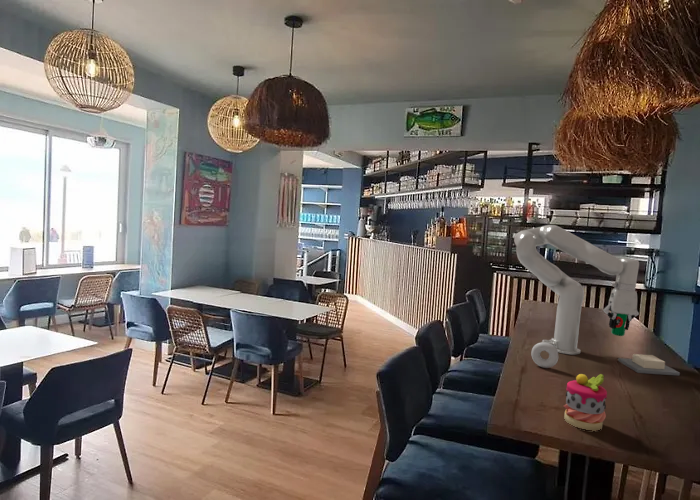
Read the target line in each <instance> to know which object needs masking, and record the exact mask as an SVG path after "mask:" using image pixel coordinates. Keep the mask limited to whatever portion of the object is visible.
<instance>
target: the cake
mask: <svg viewBox="0 0 700 500" xmlns="http://www.w3.org/2000/svg"><path fill="white" fill-rule="evenodd" d="M604 377H605V376H604V374H602V373H600V374H598V375H597V376H592V377H591V378H588V376H587V375H586V374H583V373H579V374H578V375H576V376H575V379H574V380H570V381H568V382H567V384H566V389H565V390H566V392H565V397H566V398H565V404H564V405H563V408H565V411H564V416H563V420H564V419H565V420H564V422H565V421H566V422H567V423H569V424H571V425H573V426H575V427H578V428H582V429H586V430H592V431H591V432H593V431H595V432H597V431H596V430H600V429H601V430H602V429H603V426H604V425H603V424H604V421H605V419H606V417H607V414H606V411H605V410H606V409H607V405H606V399H608V398H607V396H608V391H607V389H605V387H603V386H601V385H602V384H603V383H604V379H605V378H604ZM566 422H565V423H566ZM567 423H566V424H567ZM569 424H568V425H569ZM571 425H570V426H571ZM573 426H572V427H573ZM575 427H574V428H575ZM601 430H600V431H601Z"/></svg>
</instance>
